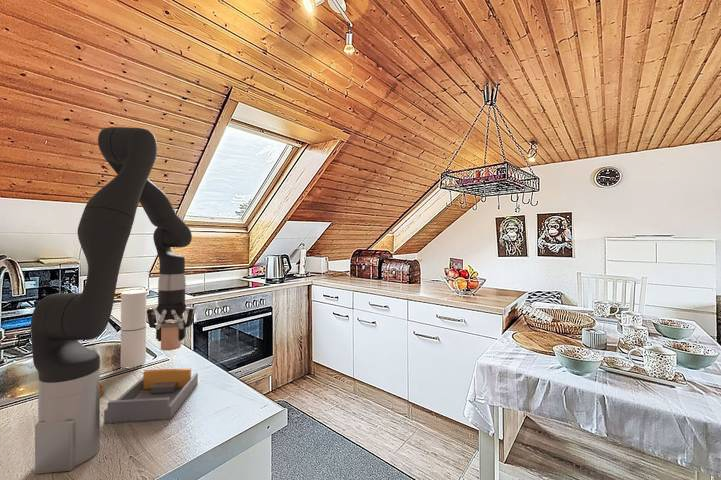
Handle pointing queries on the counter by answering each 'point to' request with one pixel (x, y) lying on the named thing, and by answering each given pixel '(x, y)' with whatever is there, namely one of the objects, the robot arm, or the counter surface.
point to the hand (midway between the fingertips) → (171, 340)
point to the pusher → (165, 379)
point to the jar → (170, 335)
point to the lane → (147, 403)
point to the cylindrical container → (133, 328)
